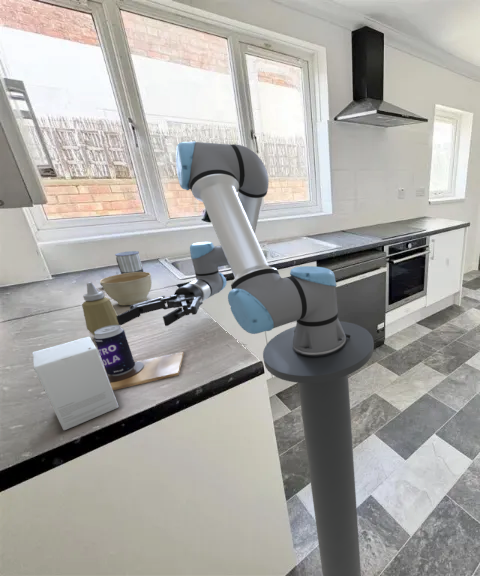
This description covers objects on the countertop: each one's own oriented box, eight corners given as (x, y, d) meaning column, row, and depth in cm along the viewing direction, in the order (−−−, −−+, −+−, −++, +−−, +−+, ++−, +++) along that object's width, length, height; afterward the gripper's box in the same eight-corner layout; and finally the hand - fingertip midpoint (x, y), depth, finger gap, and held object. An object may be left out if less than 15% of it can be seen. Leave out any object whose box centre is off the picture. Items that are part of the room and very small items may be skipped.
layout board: (184, 353, 88) (183, 350, 88) (178, 375, 79) (177, 371, 78) (95, 372, 80) (93, 369, 80) (76, 399, 71) (75, 395, 70)
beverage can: (106, 371, 79) (91, 329, 75) (134, 362, 83) (120, 322, 79) (109, 380, 75) (92, 337, 71) (137, 370, 79) (123, 328, 75)
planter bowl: (158, 302, 127) (151, 277, 124) (107, 312, 118) (98, 285, 114) (155, 292, 139) (149, 269, 136) (109, 300, 130) (101, 276, 126)
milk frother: (151, 279, 158) (143, 251, 153) (122, 289, 143) (113, 258, 138) (127, 278, 160) (118, 250, 155) (96, 288, 145) (86, 258, 140)
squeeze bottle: (92, 343, 95) (72, 288, 89) (89, 335, 100) (70, 283, 94) (125, 334, 101) (108, 282, 95) (121, 327, 106) (104, 277, 100)
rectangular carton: (111, 390, 73) (91, 334, 68) (119, 407, 67) (97, 347, 63) (58, 411, 67) (30, 351, 62) (62, 432, 61) (32, 367, 56)
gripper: (229, 304, 105) (188, 333, 85) (160, 304, 107) (104, 332, 87) (225, 283, 103) (181, 308, 83) (155, 283, 104) (95, 307, 84)
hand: (141, 321), depth 85 cm, fingers open, 13 cm apart
